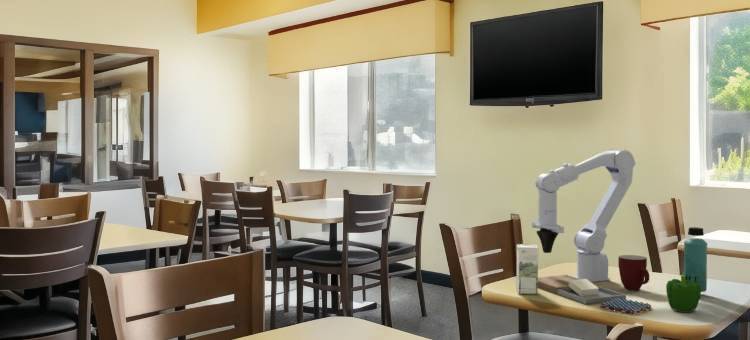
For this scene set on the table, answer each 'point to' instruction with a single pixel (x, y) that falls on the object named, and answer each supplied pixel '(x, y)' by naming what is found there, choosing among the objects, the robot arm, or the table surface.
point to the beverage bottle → (696, 258)
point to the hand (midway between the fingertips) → (547, 252)
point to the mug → (633, 271)
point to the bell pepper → (683, 294)
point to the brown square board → (555, 282)
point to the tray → (591, 296)
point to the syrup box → (527, 269)
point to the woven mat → (625, 306)
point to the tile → (583, 287)
